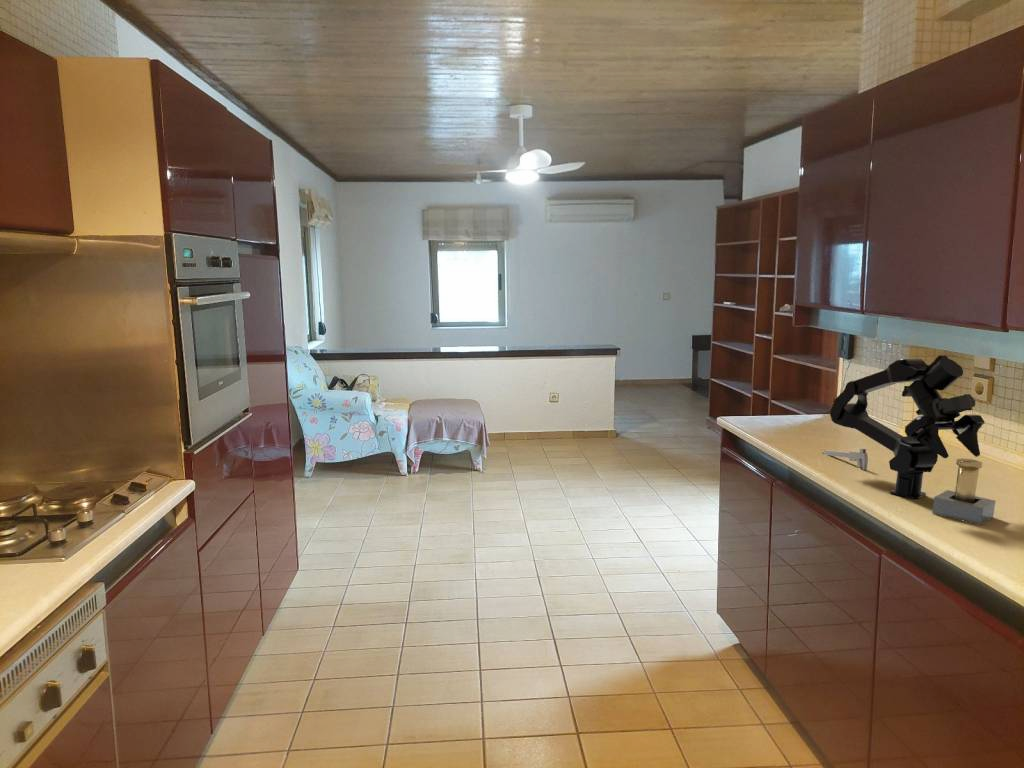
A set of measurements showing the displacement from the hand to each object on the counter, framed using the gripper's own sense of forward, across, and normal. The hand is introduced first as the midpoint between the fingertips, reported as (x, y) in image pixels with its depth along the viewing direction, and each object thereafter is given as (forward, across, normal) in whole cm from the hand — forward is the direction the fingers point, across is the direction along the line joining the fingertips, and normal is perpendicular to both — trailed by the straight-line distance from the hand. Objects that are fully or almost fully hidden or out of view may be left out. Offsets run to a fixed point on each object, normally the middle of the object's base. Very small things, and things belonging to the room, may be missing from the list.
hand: (962, 456), depth 168 cm
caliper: (-22, +7, +42) cm, 48 cm away
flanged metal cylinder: (+11, 0, +8) cm, 14 cm away
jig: (+11, 0, +8) cm, 14 cm away
